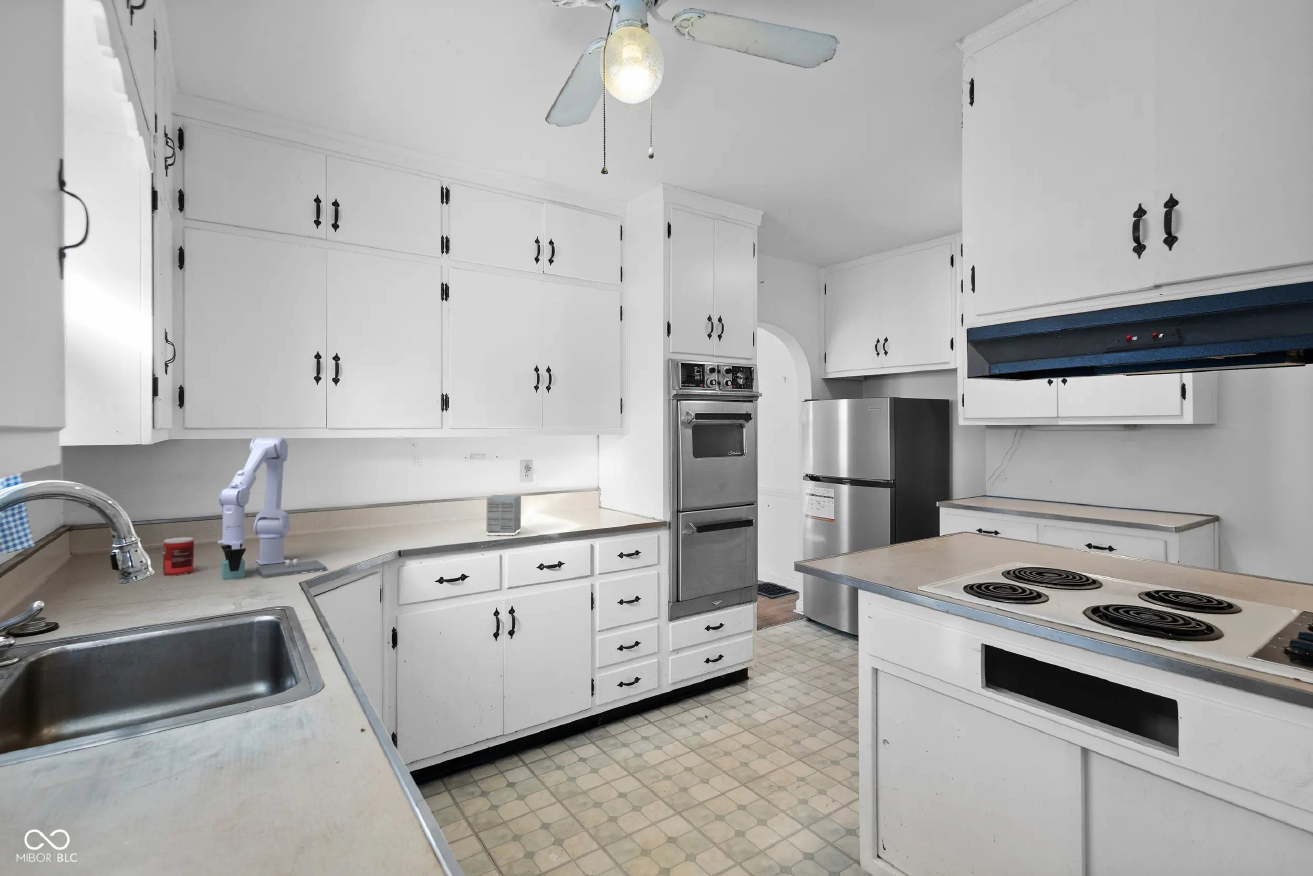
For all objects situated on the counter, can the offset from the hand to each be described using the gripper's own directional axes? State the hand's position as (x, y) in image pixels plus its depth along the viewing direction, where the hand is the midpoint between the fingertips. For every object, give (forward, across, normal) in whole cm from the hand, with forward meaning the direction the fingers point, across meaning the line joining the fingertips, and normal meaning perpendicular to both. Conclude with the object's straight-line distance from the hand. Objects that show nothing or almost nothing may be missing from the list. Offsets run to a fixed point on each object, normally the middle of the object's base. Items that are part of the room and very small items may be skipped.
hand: (232, 569), depth 194 cm
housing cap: (+2, 0, 0) cm, 2 cm away
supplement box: (+2, -29, +107) cm, 111 cm away
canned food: (+3, -16, -13) cm, 21 cm away
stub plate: (+2, +1, +16) cm, 16 cm away
